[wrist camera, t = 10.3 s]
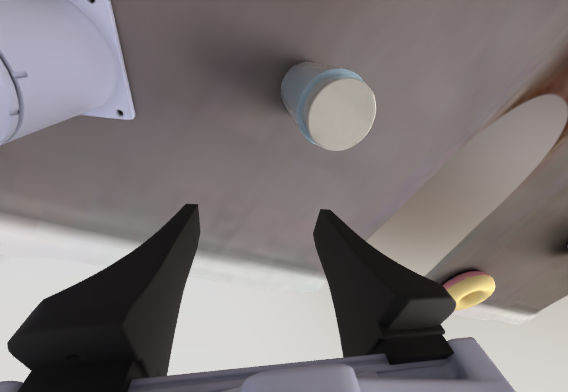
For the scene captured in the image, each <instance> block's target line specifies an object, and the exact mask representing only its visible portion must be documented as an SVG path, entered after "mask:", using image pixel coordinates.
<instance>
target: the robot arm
mask: <svg viewBox="0 0 568 392" xmlns="http://www.w3.org/2000/svg"><path fill="white" fill-rule="evenodd" d="M118 110H121V111H122V112H123V115H121V114H119V112H118ZM77 115H86V116H95V117H105V118H114V119H124V120H131V119H133V118H134V117H135V110H134V105H133V101H132V96H131V92H130V87H129V82H128V78H127V73H126V69H125V64H124V60H123V55H122V50H121V46H120V41H119V37H118V32H117V28H116V23H115V19H114V14H113V9H112V5H111V1H110V0H95V2H94V3H92V2H91V1H90V0H0V145H3V144H5V143H8V142H11V141H13V140H16V139H18V138H21V137H23V136H26V135H28V134H31V133H34V132H36V131H39V130H41V129H44V128H46V127H49V126H52V125H54V124H57V123H59V122H62V121H64V120H67V119H69V118H72V117H75V116H77ZM199 236H200V223H199V211H198V204H186V205H184V206H183V207H182V208H181V209H180V211H179V212H178V213H177V214H176V215H175V216H174V217H173V218H172V219H171V220H170V221H168V222H167V223H166V224H165V225H164V226H163V227H162V228H161V229H160V230H159V231H158V232H156V233H155V234H154V235H153V236H152V237H151V238H149V239H148V240H147V241H146V242H144V243H143V244H142V245H141V246H139V247H138V248H136V249H135V250H134V251H132V252H131V253H129V254H128V255H126V256H125V257H123V258H122V259H120V260H118V261H117V262H115V263H114V264H112V265H110V266H109V267H107V268H105V269H104V270H102V271H100V272H98V273H97V274H95V275H93V276H91V277H89V278H87V279H85V280H84V281H82V282H79V283H78V284H75V285H73V286H71V287H69V288H67V289H65V290H63V291H61V292H59V293H57V294H55V295H52V296H50V297H48V298H46V299H44V300H43V301H42V302H41V303H40V304H39V305H38V306H37V307H36V308H35V310H34V311H33V312H32V313H31V314H30V315H29V317H28V318H27V319H26V320H25V322H24V323H23V324H22V325H21V326H20V328H19V329H18V330H17V331H16V333H15V334H14V335H13V336H12V338H11V339H10V340H9V342H8V350H9V352H10V353H11V354H12V355H13V356H14V357H15V358H16V359H18V360H19V361H20V362H21V363H23V364H24V365H25V366H26V367H28V368H29V369H30V370H31V373H30V374H29V376H28V377H27V378H26V380H25V381H24V383H22V382H18V381H3V382H0V392H515V390H514V389H513V388H512V386H511V385H510V384H509V383H508V381H507V380H506V379H505V378H504V376H503V375H502V374H501V372H500V371H499V370H498V368H497V367H496V366H495V365H494V363H493V362H492V361H491V360H490V358H489V357H488V356H487V354H486V353H485V352H484V350H483V349H482V348H481V347H480V345H479V344H478V343H477V341H476V340H475V339H474V338H472V337H468V338H457V339H451V340H449V341H446V340H445V338H444V337H443V336H442V334H444V333H445V331H444V329H443V328H442V326H441V325H440V324H441V323H442V322H443V321H444V320H445V319H447V318H448V317H449V316H450V315H451V314H452V313H453V311H454V310H455V308H456V301H455V300H454V299H453V297H452V296H451V295H450V294H449V293H448V291H447V290H446V289H445V288H444V286H443V285H441V284H439V283H437V282H434V281H432V280H430V279H428V278H426V277H423V276H421V275H419V274H417V273H415V272H413V271H411V270H409V269H407V268H405V267H404V266H402V265H400V264H398V263H397V262H395V261H393V260H392V259H390V258H388V257H387V256H385V255H383V254H382V253H381V252H379V251H378V250H376V249H375V248H373V247H372V246H371V245H370V244H368V243H367V242H366V241H365V240H363V239H362V238H361V237H360V236H358V235H357V234H356V233H355V232H354V231H353V230H351V229H350V228H349V227H348V226H347V225H346V224H345V223H344V222H343V221H342V220H341V219H340V218H338V217H337V216H336V215H335V214H334V213H333V212H332V211H331V210H326V209H320V212H319V216H318V219H317V222H316V226H315V229H314V232H313V236H314V241H315V246H316V249H317V252H318V255H319V258H320V261H321V264H322V267H323V269H324V272H325V275H326V278H327V281H328V284H329V287H330V291H331V295H332V300H333V304H334V308H335V313H336V318H337V323H338V328H339V333H340V339H341V345H342V350H343V358H336V359H326V360H317V361H307V362H297V363H288V364H278V365H268V366H259V367H249V368H239V369H229V370H219V371H210V372H200V373H190V374H182V375H171V376H167V372H168V366H169V360H170V354H171V349H172V343H173V338H174V333H175V328H176V323H177V318H178V313H179V308H180V303H181V299H182V295H183V290H184V287H185V283H186V280H187V277H188V274H189V271H190V268H191V265H192V262H193V259H194V256H195V253H196V250H197V246H198V241H199Z"/></svg>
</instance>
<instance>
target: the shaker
mask: <svg viewBox="0 0 568 392" xmlns="http://www.w3.org/2000/svg"><path fill="white" fill-rule="evenodd" d="M281 98H282V102H283V104H284V106H285V107H286V109H287V111H288V112H289V114H290V115H291V117H292V118H293V120H294V121H295V123H296V125H297V126H298V128H299V129H300V131H301V132H302V134H303V135H304V137H305V138H306V139H307V140H309V141H310V142H311V143H313V144H315V145H318V146H320V147H322V148H324V149H326V150H331V151H340V150H345V149H348V148H350V147H352V146H354V145H355V144H357V143H358V142H360V141H361V140H362V139H363V138H364V137H365V136H366V134H367V133H368V132H369V130H370V128H371V126H372V124H373V122H374V119H375V114H376V101H375V97H374V94H373V92H372V90H371V89H370V87H369V86H368V85H367V84H366V83H365V82H364V81H363V79H362V78H361V77H360V76H359V75H358V74H356V73H355V72H353V71H351V70H348V69H344V68H339V67H335V66H330V65H325V64H320V63H315V62H309V61H306V62H300V63H298V64H296V65H294V66H293V67H292V68H290V69H289V70H288V72H287V73H286V75H285V76H284V78H283V81H282V84H281Z"/></svg>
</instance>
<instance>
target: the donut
mask: <svg viewBox="0 0 568 392" xmlns="http://www.w3.org/2000/svg"><path fill="white" fill-rule="evenodd" d="M443 286H444V288H445V289H446V290H447V291H448V293H449V294H450V295H451V296H452V297H453V299H454V300H455V301H456V308H455V310H462V309H466V308H469V307H472V306H474V305H477V304H479V303H480V302H482V301H484V300H485V299H487V298H488V297H489V296H490V295H491V294H492V293H493V291H494V289H495V282H494V280H493V278H492V277H491V276H489V275H488V274H486V273H484V272H480V271H471V272H466V273H463V274H460V275H457V276H455V277H453V278H452V279H450V280H449V281H447V282H446V283H445V284H443Z"/></svg>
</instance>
